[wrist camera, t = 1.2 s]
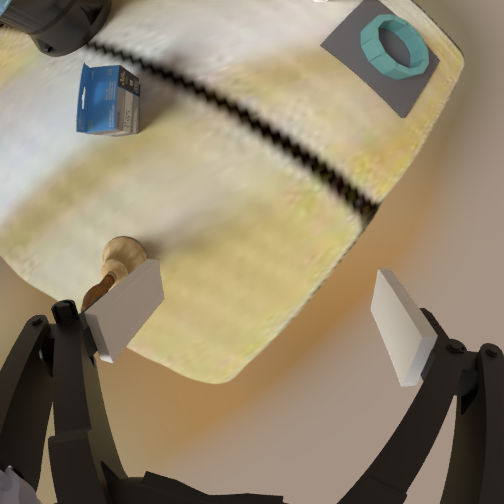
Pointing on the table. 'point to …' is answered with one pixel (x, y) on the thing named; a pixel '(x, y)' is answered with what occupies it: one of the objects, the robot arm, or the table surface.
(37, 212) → the table surface
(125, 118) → the label tape box
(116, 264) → the hand bell
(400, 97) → the cup holder
